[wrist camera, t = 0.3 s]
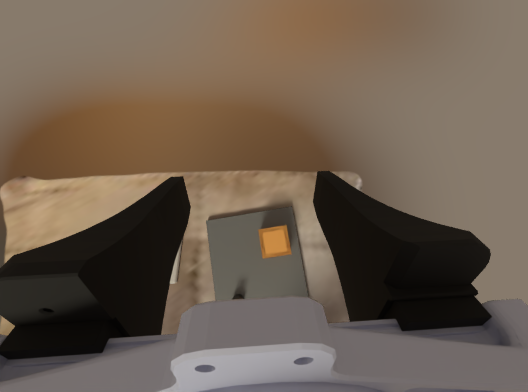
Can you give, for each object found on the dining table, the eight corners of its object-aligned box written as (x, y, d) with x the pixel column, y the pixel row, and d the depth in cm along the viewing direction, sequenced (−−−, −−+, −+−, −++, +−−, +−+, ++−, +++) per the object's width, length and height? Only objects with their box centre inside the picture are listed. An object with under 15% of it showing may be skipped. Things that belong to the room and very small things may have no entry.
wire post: (244, 305, 39) (241, 312, 35) (233, 306, 39) (229, 314, 36) (243, 292, 39) (239, 299, 36) (231, 294, 39) (227, 301, 36)
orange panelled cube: (290, 251, 40) (291, 254, 35) (264, 255, 40) (262, 258, 35) (285, 225, 40) (286, 225, 36) (260, 229, 41) (258, 229, 36)
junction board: (312, 321, 39) (313, 323, 38) (221, 334, 39) (220, 337, 38) (291, 206, 42) (291, 206, 41) (207, 221, 43) (206, 220, 42)
